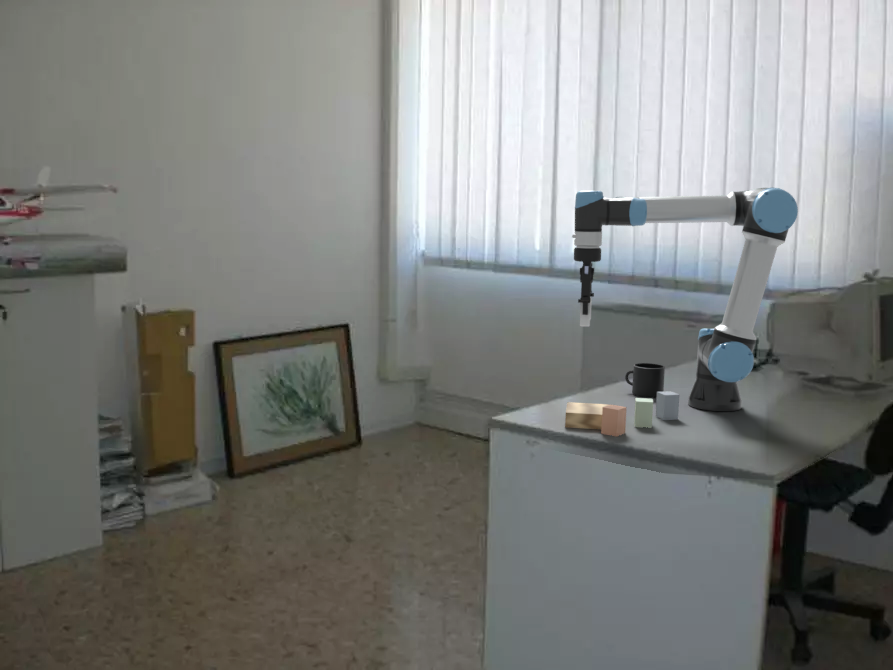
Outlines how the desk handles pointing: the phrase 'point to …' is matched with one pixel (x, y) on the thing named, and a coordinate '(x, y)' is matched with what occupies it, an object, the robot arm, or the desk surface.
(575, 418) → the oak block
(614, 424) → the terracotta brick
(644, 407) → the sage brick
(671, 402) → the slate brick
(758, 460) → the desk surface
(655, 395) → the mug
